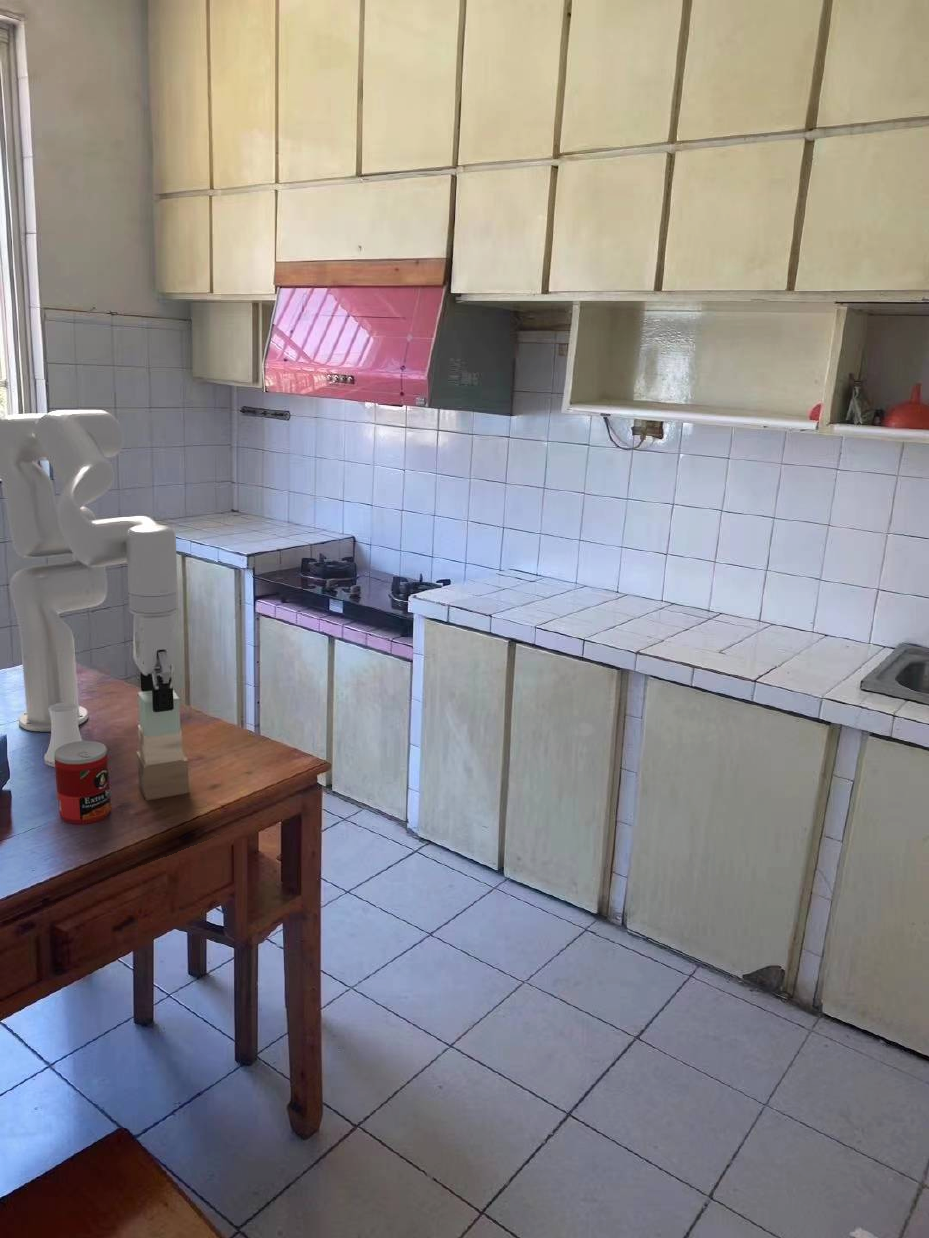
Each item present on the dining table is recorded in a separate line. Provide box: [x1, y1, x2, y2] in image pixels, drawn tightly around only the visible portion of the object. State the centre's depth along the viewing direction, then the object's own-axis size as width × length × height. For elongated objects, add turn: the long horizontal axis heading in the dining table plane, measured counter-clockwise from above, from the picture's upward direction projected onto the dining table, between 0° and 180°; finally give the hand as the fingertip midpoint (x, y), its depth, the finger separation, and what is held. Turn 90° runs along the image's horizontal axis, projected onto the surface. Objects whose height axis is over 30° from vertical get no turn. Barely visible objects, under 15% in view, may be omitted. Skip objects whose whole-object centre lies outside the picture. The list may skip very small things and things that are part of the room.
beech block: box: [137, 724, 184, 766], centre depth 155 cm, size 6×6×5 cm
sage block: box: [137, 689, 182, 737], centre depth 154 cm, size 6×6×6 cm
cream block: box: [136, 751, 190, 801], centre depth 157 cm, size 7×7×6 cm
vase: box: [43, 703, 83, 768], centre depth 166 cm, size 8×8×10 cm
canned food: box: [54, 740, 112, 825], centre depth 146 cm, size 8×8×11 cm
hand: (156, 700), depth 154 cm, fingers open, 9 cm apart
